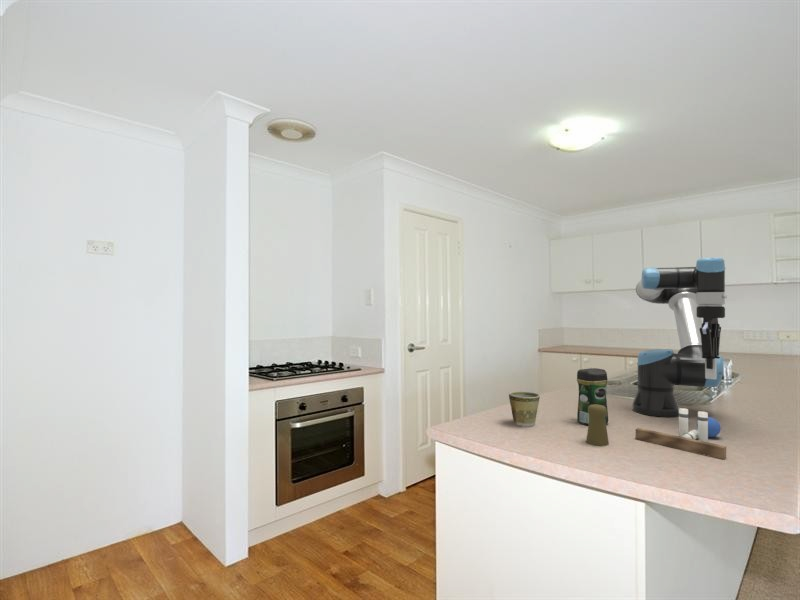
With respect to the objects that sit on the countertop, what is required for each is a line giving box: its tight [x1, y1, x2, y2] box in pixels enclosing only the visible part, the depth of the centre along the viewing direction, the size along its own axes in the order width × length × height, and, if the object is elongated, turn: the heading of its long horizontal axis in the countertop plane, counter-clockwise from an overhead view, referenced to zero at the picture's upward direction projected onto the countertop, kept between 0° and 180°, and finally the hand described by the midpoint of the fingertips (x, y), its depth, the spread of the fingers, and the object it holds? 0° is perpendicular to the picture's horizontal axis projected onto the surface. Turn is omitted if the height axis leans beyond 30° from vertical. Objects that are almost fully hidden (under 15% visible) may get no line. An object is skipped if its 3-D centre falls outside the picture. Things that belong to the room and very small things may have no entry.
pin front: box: [682, 429, 698, 440], centre depth 129 cm, size 2×2×9 cm
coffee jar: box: [576, 367, 609, 426], centre depth 149 cm, size 10×8×19 cm
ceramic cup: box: [508, 391, 541, 428], centre depth 148 cm, size 13×10×10 cm
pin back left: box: [678, 407, 689, 437], centre depth 132 cm, size 2×2×9 cm
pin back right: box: [697, 410, 709, 443], centre depth 128 cm, size 2×2×9 cm
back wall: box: [635, 427, 727, 460], centre depth 123 cm, size 22×2×3 cm, turn 39°
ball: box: [696, 416, 722, 438], centre depth 133 cm, size 6×6×6 cm
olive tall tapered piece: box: [586, 404, 610, 447], centre depth 127 cm, size 6×6×11 cm
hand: (710, 378), depth 141 cm, fingers closed
